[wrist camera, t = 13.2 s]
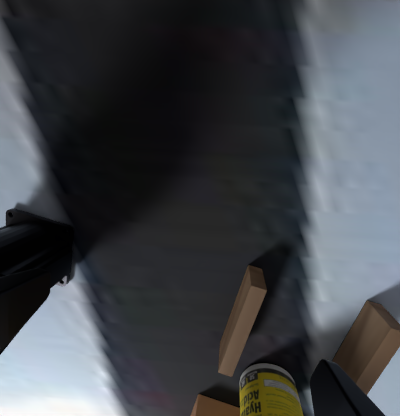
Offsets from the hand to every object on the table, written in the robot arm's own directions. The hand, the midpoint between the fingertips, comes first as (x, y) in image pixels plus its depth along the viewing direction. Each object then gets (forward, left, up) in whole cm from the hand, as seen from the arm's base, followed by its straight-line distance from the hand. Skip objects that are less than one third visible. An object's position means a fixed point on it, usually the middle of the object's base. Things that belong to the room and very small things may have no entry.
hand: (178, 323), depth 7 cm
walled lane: (+10, -8, -12) cm, 18 cm away
